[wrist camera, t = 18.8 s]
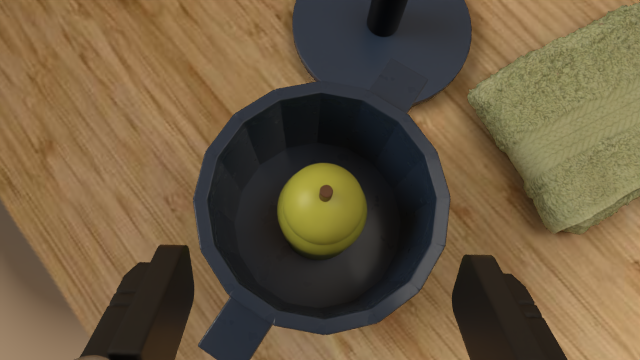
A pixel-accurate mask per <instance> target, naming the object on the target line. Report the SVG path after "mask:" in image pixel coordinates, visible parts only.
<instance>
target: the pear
mask: <svg viewBox="0 0 640 360" xmlns="http://www.w3.org/2000/svg"><path fill="white" fill-rule="evenodd" d="M277 216H278V222H279V225H280V228H281V230H282V232H283V235H284V237H285V239H286V241H287V243H288V244H289V245H290V247H291V248H292V249H293V250H294V251H295V252H297V253H298V254H299V255H301V256H303V257H305V258H308V259H312V260H326V259H330V258H333V257H335V256H337V255H339V254H341V253H342V252H343V251H344V250H346V249H347V248H348V247H349V246H350V245H352V244H353V243H354V242H355V241H356V240H357V238H358V237H359V235H360V234H361V232H362V230H363V228H364V225H365V222H366V218H367V203H366V199H365V195H364V193H363V191H362V188H361V186H360V184H359V183H358V181H357V180H356V178H355V177H354V176H353V175H352V174H351V173H350V172H349V171H347V170H346V169H344V168H342V167H340V166H338V165H335V164H330V163H317V164H312V165H309V166H307V167H305V168H303V169H301V170H300V171H299V172H297V173H296V174H295V175H293V176H292V177H291V178H290V179H289V180H288V182H287V183H286V184H285V185H284V187H283V189H282V191H281V193H280V195H279V199H278V204H277Z"/></svg>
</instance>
